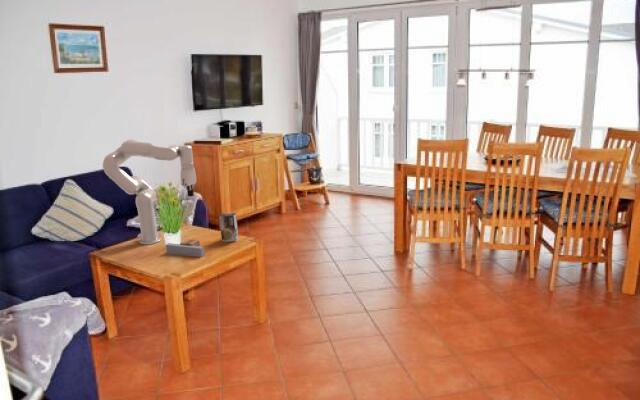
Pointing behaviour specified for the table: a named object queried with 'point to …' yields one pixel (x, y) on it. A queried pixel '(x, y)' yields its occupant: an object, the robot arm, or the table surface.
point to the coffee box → (228, 227)
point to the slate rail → (185, 250)
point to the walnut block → (190, 242)
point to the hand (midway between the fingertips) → (190, 195)
